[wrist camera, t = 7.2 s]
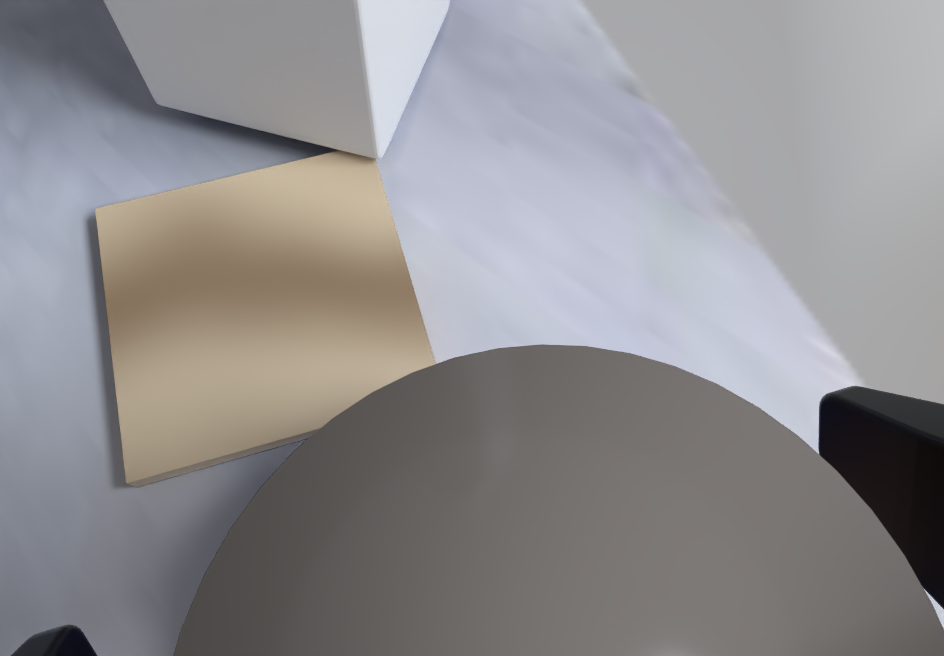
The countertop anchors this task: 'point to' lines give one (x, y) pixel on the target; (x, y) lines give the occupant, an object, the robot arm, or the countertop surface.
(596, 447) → the spice jar
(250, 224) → the cork mat
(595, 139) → the countertop surface
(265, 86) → the milk carton
